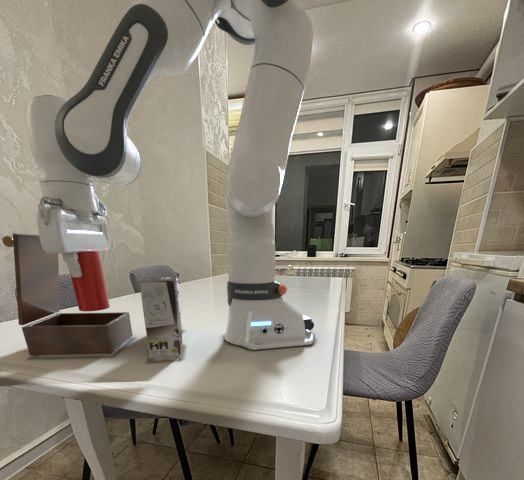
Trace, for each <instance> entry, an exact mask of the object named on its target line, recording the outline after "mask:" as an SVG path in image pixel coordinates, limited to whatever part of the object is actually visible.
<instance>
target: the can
mask: <svg viewBox="0 0 524 480" xmlns="http://www.w3.org/2000/svg"><path fill="white" fill-rule="evenodd" d="M99 252H100V251H84V252H78V253H77V255H78V259H77V261H78V263H79V265H80V267H83V272H84V276H82V277H72V276H71V272H70V268H69V267H68V271H69V274H70V278H71V282H72V288H73V291H74V294H75V295H74V296H75V300H76V303H77V307H78V311H79V312H98V311H103V310H106V309H109V308H111V306H110V300H109V295H108V290H107V285H106V280H105V276H104V271H103V267H102V262H101V255H100V256H99Z"/></svg>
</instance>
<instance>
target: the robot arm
mask: <svg viewBox="0 0 524 480" xmlns="http://www.w3.org/2000/svg"><path fill="white" fill-rule="evenodd" d="M214 23H215V25H216V26H217V28H218V29H219V30H221V31H223V32H225V33H227V35H228V36H229V37H230V38H232V40H234V41H236V42H237V43H239V44H241V45H244V46H253V45H254V52H253V57H252V61H251V66H250V70H249V75H248V80H247V85H246V89H245V93H244V97H243V103H242V107H241V111H240V112H241V113H240V116H239V120H238V124H237V129H236V133H235V136H234V141H233V144H232V149H231V153H230V157H229V162H228V166H227V170H226V175H225V180H224V183H225V191H224V192H225V212H226V215H225V216H226V240H227V242H226V243H227V244H226V245H227V266H228V267H227V268H228V269H227V270H228V271H227V272H228V281H227V283H226V284H227V285H226V300H227V301H226V302H227V305H228V314H227V315H228V316H227V323H226V328H225V329H226V330H225V333H224V337H223V339H224V340H225V341H226V342H228V343H229V344H232V345H236V346H240V347H244V348H246V349H248V350H253V351H254V350H256V351H257V350H265V349H267V350H268V349H278V348H279V349H280V348H288V347H289V348H290V347H298V346H299V347H300V346H310V345H312V344H313V343H314V341H315V340H314V339H315V338H314V334H313V332H312V330H313V329H314V327H315V324H314V323H315V322H313V318H311V317H309V316H307V315H303V314H302V312H301V311H300V310H299V309H297V307H295V306H294V305H293V304H291V303H290V302H289V301H288V300H286V298H284V297H283V296H284V295H285V294H286V293H287V292H288V287H287V286H286V285H285V284H282V283H280V282H278V281H277V280H276V241H275V231H274V230H275V229H274V214H273V208H274V207H275V205H276V203H278V200H279V197H280V195H281V191H282V186H283V182H284V178H285V175H286V174H285V173H286V169H287V164H288V159H289V154H290V148H291V143H292V138H293V134H294V131H295V127H296V123H297V119H298V116H299V112H300V109H301V104H302V101H303V96H304V93H305V89H306V86H307V81H308V76H309V71H310V65H311V60H312V53H313V44H314V27H313V23H312V21H311V18H310V15H308V13H307V12H306V11H305V10H304V9H303V8H302V7H301V6H300V5H298V4H297V3H296V1H295V0H134V1H133V2H132V5H131V7H130V8H129V9H128V10H127V11H126V13H125V14H124V15H123V17H122V18H121V20H120V21H119V23H118V25H117V26H116V28H115V30H114V32H113V33H112V35H111V38H109V41H108V42H107V45H106V46H105V48H104V50H103V51H102V54H101V55H100V57H99V59H98V61H97V63H96V65H95V67H94V69H93V71H92V73H91V74H90V76H89V78H88V80H87V81H86V83H85V84H84V85H83V87H82V88H81V89H80V90H79V91H78V92H76V93H75V94H74V95H73V96H72V97H70V98H69V99H66V98H64V97H61V96H56V95H50V94H45V95H44V94H43V95H38V96H34V97H33V98H31V99H30V100H28V102H27V103H26V105H25V114H24V115H25V125H26V130H27V137H28V141H29V146H30V151H31V155H32V158H33V159H34V161H35V164H36V165H37V169H38V173H39V175H38V182H39V185H40V186H39V187H40V190H41V194H42V196H41V197H40V199H39V201H38V203H37V211H36V214H35V215H36V224H37V225H36V226H37V231H38V234H39V237H40V242H41V246H42V248H43V249H44V250H45V252H46V253H48V254H58V255H60V254H61V255H62V259H63V261H64V262H65V264H66V266H67V268H68V269H69V268H70V271H69V273H70V272H71V275H70V277H71V276H72V277H82V276H84V272H83V267H80V265H79V263H78V261H77V259H78V255H77V253H78V252H84V251H99V256H100V257H101V253H100V252H108V251H110V248H111V241H110V233H109V232H110V231H109V226H108V225H109V224H108V222H107V219H106V216H108V209H107V207H106V205H105V204H104V203H103V202H102V201H101V200H100V199H99V197H98V195H97V194H96V192H95V191H96V190H95V187H94V182H100V183H104V184H105V183H106V184H110V185H112V186H117V187H118V186H120V187H121V186H127V185H130V184H132V183H133V182H135V181H136V180H137V178H138V177H139V175H140V172H141V169H142V159H141V154H140V153H139V150H138V149H137V146H136V145H135V144H134V141H132V139H131V138H130V136H129V135H128V123H129V120H130V118H131V116H132V114H133V112H134V110H135V108H136V107H137V105H138V102H139V101H140V99H141V97H142V96H143V94H144V92H145V90H146V88H147V86H148V84H149V83H150V81H151V79H152V78H153V77H154V76H156V75H157V74H160V73H161V74H163V75H165V76H168V77H169V76H170V77H178V76H179V77H180V76H182V75H185V73H186V71H188V70H189V68H190V67H191V65H192V64H193V63H194V61H195V60H196V58H197V56H198V55H199V53H200V51H201V49H202V47H203V44H204V43H205V41H206V39H207V36H208V34H209V32H210V30H211V28H212V26H213V24H214Z"/></svg>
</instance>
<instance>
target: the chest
mask: <svg viewBox="0 0 524 480" xmlns="http://www.w3.org/2000/svg"><path fill="white" fill-rule="evenodd" d="M21 331H22V334H23V337H24V340H25V341H24V342H25V344H26V348H27V351H28V354H29V356H68V355H69V356H70V355H71V356H73V355H107V354H108V355H109V354H114V353H115V352H116V351H117V350H118V349H119V348H121V347H122V346H123V345H124V344H126V342H128V340H130V339H131V338H132V337H133V329H132V324H131V317H130V312H128V311H122V312H120V311H119V312H115V311H114V312H57V313H54V314H52V315H49V316H46V317H44V318H41V319H39V320H36V321H34V322H31V323H28V324H26V325H23V326H22V327H21Z"/></svg>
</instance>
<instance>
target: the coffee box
mask: <svg viewBox="0 0 524 480" xmlns="http://www.w3.org/2000/svg"><path fill="white" fill-rule="evenodd" d="M176 278H177V276H175V275H174V276H171V275H170V276H169V275H168V276H155V277H154V276H153V277H150V276H149V277H148V276H147V277H145V278H143V279H142V280H140V281H139V289H140V297H141V304H142V311H143V320H144V326H145V333H146V339H147V349H148V356H149V357H148V358H149V359H150V360H153V359H169V358H178V360H181V359H182V352H183V345H184V343H183V341H184V340H183V332H182V331H183V329H182V330H181V321H180V311H179V301H178V291H177V281H176Z"/></svg>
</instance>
